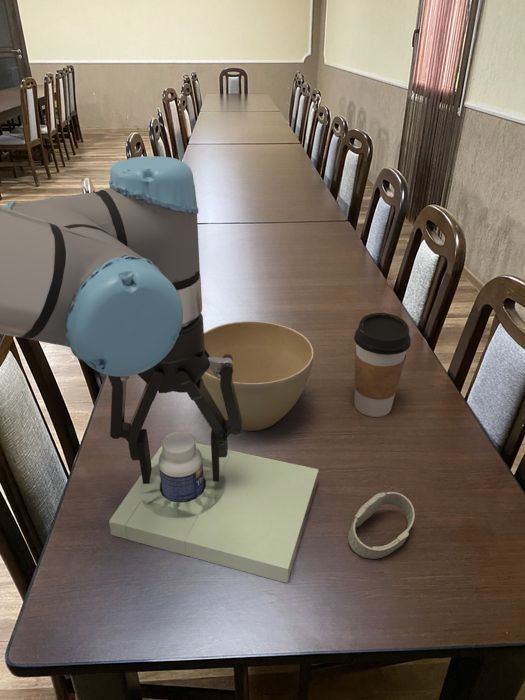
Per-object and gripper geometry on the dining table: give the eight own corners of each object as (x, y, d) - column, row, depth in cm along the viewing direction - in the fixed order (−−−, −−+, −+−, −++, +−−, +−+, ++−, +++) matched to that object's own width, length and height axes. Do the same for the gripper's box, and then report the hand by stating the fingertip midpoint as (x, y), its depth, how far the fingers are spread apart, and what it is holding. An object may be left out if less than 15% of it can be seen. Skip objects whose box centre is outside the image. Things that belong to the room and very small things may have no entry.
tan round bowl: (312, 454, 77) (317, 385, 71) (187, 451, 78) (181, 382, 71) (306, 382, 93) (310, 320, 86) (202, 381, 93) (198, 319, 87)
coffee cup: (398, 393, 90) (411, 314, 82) (400, 425, 83) (415, 341, 75) (347, 388, 91) (356, 309, 84) (345, 418, 84) (354, 336, 77)
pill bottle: (207, 511, 68) (203, 453, 63) (164, 517, 67) (157, 459, 62) (202, 481, 73) (198, 424, 68) (162, 486, 72) (155, 430, 67)
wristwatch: (383, 502, 70) (388, 473, 67) (424, 532, 66) (431, 503, 63) (335, 539, 65) (338, 510, 62) (376, 574, 60) (382, 545, 58)
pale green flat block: (111, 535, 65) (108, 521, 64) (168, 449, 78) (167, 436, 77) (287, 583, 59) (288, 569, 58) (317, 482, 73) (318, 469, 71)
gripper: (264, 297, 60) (262, 452, 71) (74, 300, 59) (104, 457, 70) (268, 330, 53) (265, 494, 65) (55, 334, 52) (92, 500, 64)
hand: (182, 474), depth 68 cm, fingers open, 8 cm apart
